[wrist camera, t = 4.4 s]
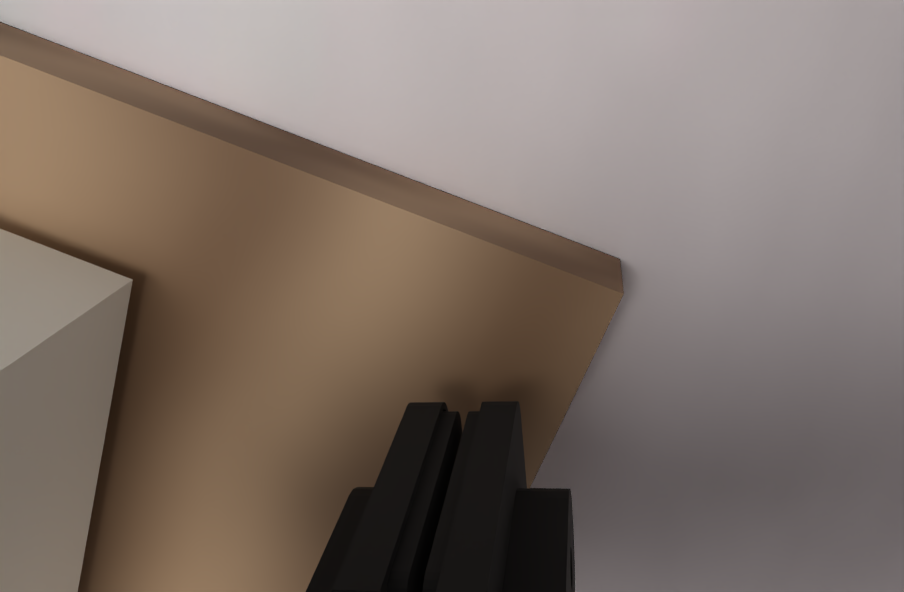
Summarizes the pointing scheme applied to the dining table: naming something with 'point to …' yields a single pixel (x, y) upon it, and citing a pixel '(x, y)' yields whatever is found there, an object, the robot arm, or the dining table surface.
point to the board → (272, 316)
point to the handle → (52, 407)
